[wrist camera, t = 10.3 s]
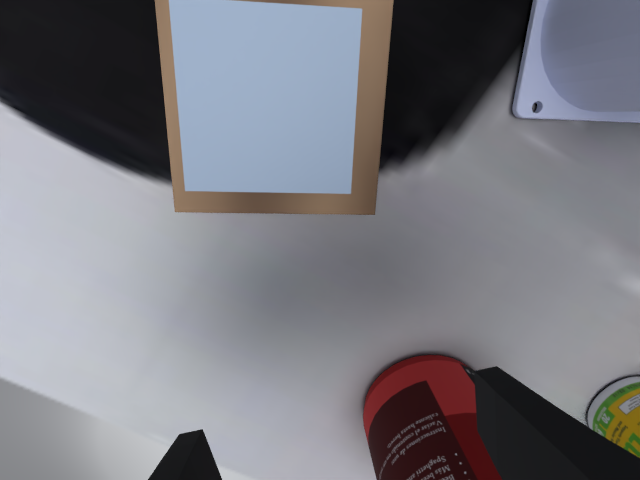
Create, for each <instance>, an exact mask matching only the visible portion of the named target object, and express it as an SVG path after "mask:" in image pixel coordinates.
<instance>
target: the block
mask: <svg viewBox="0 0 640 480" xmlns="http://www.w3.org/2000/svg"><path fill="white" fill-rule="evenodd" d="M169 9H170V21H171V33H172V44H173V56H174V68H175V79H176V91H177V103H178V114H179V126H180V138H181V149H182V161H183V173H184V184H185V191H210V192H271V193H331V194H351V183H352V167H353V151H354V135H355V119H356V103H357V86H358V70H359V54H360V38H361V22H362V9H360V8H345V7H329V6H313V5H297V4H281V3H265V2H250V1H234V0H169Z"/></svg>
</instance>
